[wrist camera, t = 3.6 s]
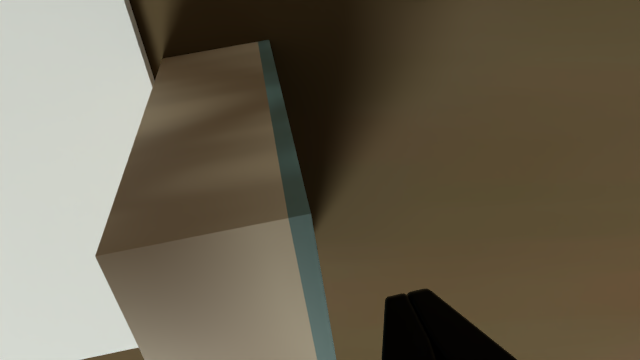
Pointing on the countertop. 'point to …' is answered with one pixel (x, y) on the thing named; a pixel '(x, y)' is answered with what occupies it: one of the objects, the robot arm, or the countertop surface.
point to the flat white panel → (64, 170)
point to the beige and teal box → (216, 219)
